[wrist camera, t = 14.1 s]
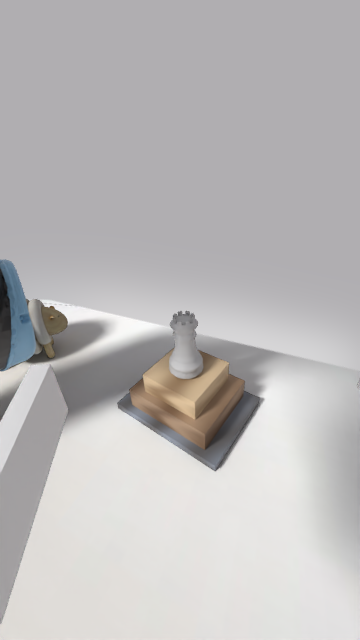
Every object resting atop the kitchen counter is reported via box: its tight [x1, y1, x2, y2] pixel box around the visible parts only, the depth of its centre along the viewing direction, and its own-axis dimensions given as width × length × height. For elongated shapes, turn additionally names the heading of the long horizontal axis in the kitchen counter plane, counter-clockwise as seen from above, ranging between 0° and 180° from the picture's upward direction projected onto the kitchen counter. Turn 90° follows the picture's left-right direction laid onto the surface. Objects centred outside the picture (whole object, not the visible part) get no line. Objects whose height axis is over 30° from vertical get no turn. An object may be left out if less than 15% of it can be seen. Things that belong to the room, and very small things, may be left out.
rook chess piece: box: [169, 311, 203, 379], centre depth 35 cm, size 4×4×8 cm
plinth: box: [117, 348, 259, 471], centre depth 39 cm, size 16×12×7 cm
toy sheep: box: [26, 299, 68, 358], centre depth 49 cm, size 11×17×11 cm, turn 115°
